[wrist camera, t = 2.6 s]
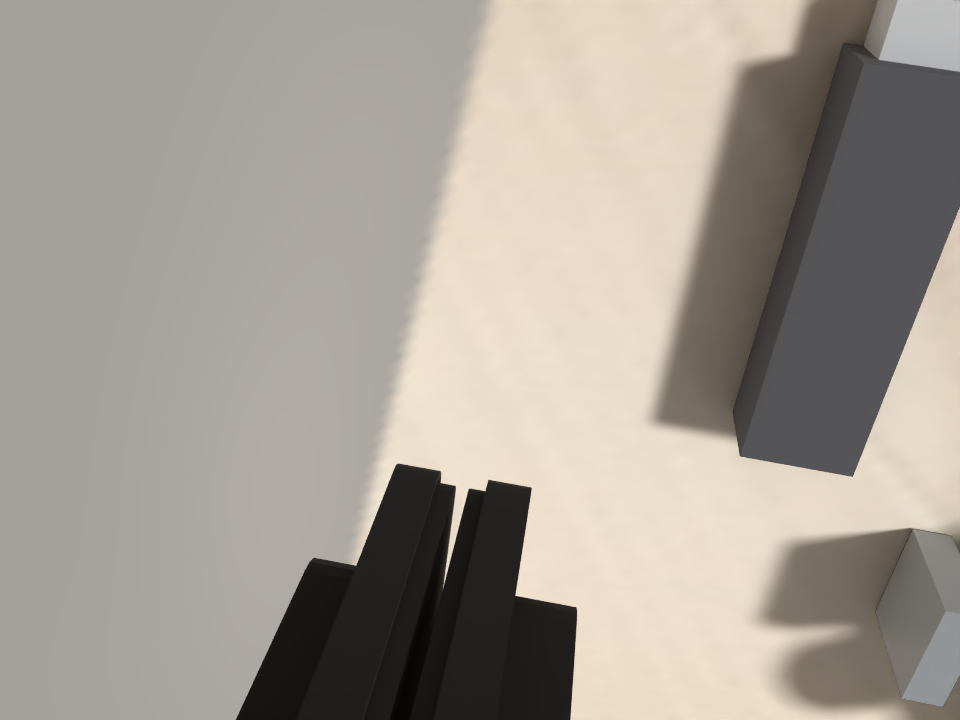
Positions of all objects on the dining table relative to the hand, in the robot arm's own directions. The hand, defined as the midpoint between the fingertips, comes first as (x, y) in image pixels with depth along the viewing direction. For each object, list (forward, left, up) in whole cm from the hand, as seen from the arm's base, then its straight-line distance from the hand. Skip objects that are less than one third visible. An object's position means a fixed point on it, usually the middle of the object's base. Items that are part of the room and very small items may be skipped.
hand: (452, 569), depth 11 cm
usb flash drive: (-1, +7, -12) cm, 14 cm away
